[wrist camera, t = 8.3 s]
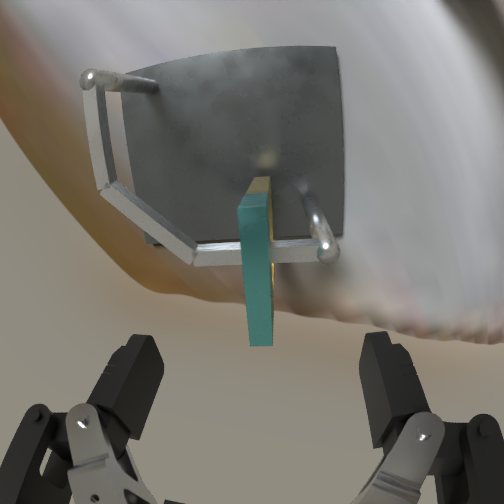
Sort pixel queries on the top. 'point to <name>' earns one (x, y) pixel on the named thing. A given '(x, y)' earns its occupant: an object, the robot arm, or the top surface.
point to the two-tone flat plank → (258, 259)
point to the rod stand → (226, 149)
